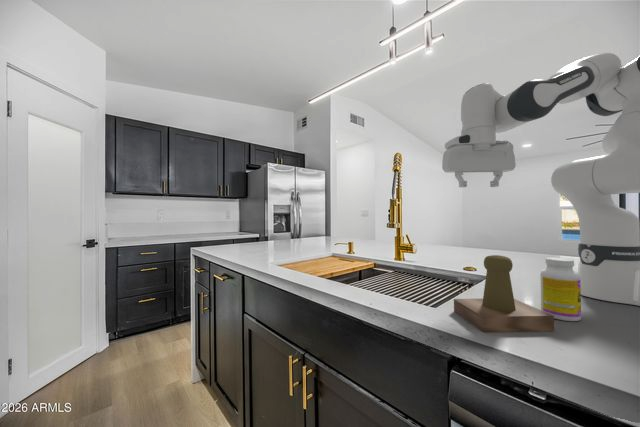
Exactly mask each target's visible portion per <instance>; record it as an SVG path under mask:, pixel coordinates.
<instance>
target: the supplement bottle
mask: <svg viewBox="0 0 640 427" xmlns="http://www.w3.org/2000/svg"><path fill="white" fill-rule="evenodd" d="M545 264H546V268H543V269H542V270H541V271H540V310H542V311H544V312H546V313H549V314H551V315H553V316H554V320H559V321H566V322H578V321H581V320H582V295H581V285H580V275H579V274H578V273H577V271H575V270H574V266H575V261H574V259H570V258H564V257H546V258H545Z"/></svg>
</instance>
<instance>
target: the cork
mask: <svg viewBox="0 0 640 427" xmlns="http://www.w3.org/2000/svg"><path fill="white" fill-rule="evenodd" d="M513 266H514V265H513V261H512V259H511V258H510V257H508V256H505V255H497V254H495V255H494V254H493V255H492V254H491V255H488V256H485V257H484V259H483V267H484V268H485V270H486V275H485V283H484V288H483V297H482V299H483V303H482V305H483V306H484V307H486V308H489V309H492V310H497V311H504V312H511V311H515V310H516V308H515V302H514V299H515V297H514V292H513V286H512V279H511V274H510V272H511V271H512V269H513Z"/></svg>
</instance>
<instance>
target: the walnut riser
mask: <svg viewBox="0 0 640 427" xmlns="http://www.w3.org/2000/svg"><path fill="white" fill-rule="evenodd" d="M514 302H515V308H516V310H515V311H511V312H504V311H497V310H492V309H489V308H486V307H484V306H483V305H482V303H483V298H453V312H454V313H455V314H457V315H458V316H459V317H461V318H463V319H464V320H466V321H467V322H468V323H469V324H471V325H472V326H474V327H475V328H476V329H478V330H480V331H481V333H482V332H483V333H509V332H510V333H512V332H514V333H516V332H517V333H518V332H519V333H521V332H554V331H555V319H554V316H553V315H551V314H549V313H546V312H544V311H542V310H541V309H539V308H536V307H534V306H532V305H529V304H527V303H525V302H522V301H521V300H517V299H515V298H514Z"/></svg>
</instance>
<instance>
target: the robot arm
mask: <svg viewBox="0 0 640 427" xmlns="http://www.w3.org/2000/svg"><path fill="white" fill-rule="evenodd" d="M583 98H585V103H586V105H587V108H588V109H589V111H590V112H592V113H593V114H595V115H598V116H601V117H609V116H612V115H615V114H619V113H620V112H621V114H620V115H619V116H618V117H617V119H616V120H615V121H614V123H613V124H612V126H611V127H610V128H609V130H608V131H607V132H606V134H605V136H604V137H603V138H602V141H601V144H602V149H603V150H604V152H605V153H606V154H603V155H599V156H593V157H587V158H581V159H575V160H573V161H570V162H566V163H565V164H562V165H559V166H557V167H556V168H555V169H554V171H553V172H552V174H551V177H550V181H551V186H552V187H553V190H554V191H556V193H557V194H560V195H562V196H563V197H564V198H565V199H567V201H569V202H570V203H571V205H572V207H573V208H574V210H575V212H576V214H577V218H578V223H579V224H578V225H579V238H580V240H579V241H580V242H579V243H578V247H577V251H578V256H579V261H578V266H577V271H576V272H577V273H578V274H579V275H580V285H581V296H585V297H588V298H592V299H595V300H601V301H606V302H610V303H611V302H612V303H619V304H627V305H634V306H639V307H640V219H639V218H638V216H637V215H636V214H635V213H634V212H632V211H630V210H628V209H625V208H623V207H619V206H618V205H617V204H615V202H614V201H613V199H612V198H613V197H612V195H621V194H623V195H625V194H635V193H637V194H638V193H640V55H639V56H638V57H637V58H635V59H633V60H632V61H630V62H628V63H627V64H625V65H622V62H621V59H620V57H619V56H618V55H616V54H615V53H611V52H602V53H597V54H592V55H589V56H587V57H583V58H582V59H578V60H576V61H574V62H571V63H570V64H567V65H566V66H563V67H562V68H561V69H559V70H558V71H556V72H555V73H554V74H552V75H551V76H550V77H549V79H544V78H543V79H532V80H531V79H530V80H528V81H526V82H524V83H523V84H521V85H520V86H518V87H517V88H516V89H515V90H513V91H511V92H510V93H508V94H506V95H505V94H502V93H500V92H498V91H497V90H496V89H494V86H493V85H492V84H491V82H490V83H488V82H485V83H484V82H483V83H481V84H476V85H475V86H473V87H470V88H469V89H468V90H467V91H466V92H465V93H464V94H463V96H462V98H461V104H460V121H461V125H462V128H461V131H460V134H461V135H458V136H455V137H453V138H452V139H449V140H448V141H446V142H445V144H444V149H445V151H444V152H443V155H442V160H441V161H442V163H441V164H442V166H441V167H442V170H443V172H444V173H448V174H449V173H453V174H454V177H455V178H456V181H457V182H458V187H459V188H467V187H468V181H467V180H464V177H463V175H464V173H492V174H493V176H494V178H493V180H491V181H489V184H490V185H489V187H490V188H497V187H499V186H500V180H501V179H502V176H503V174H504V173H508V172H512V171H514V170H515V168H516V164H517V163H516V157H515V153H514V152H515V151H514V145H513V143H512V142H510V141H509V140H497V138H496V137H497V133H498V134H499V133H505V132H508V131H510V130H513V129H515V128H517V127H520V126H522V125H525V124H527V123H529V122H533V121H536V120H538V119H541V118H544V117H546V116H547V115H548V114H549V113H550V112H551V111H552V110H553V109H554V108H555V107H556V105H558V104H560V105H564V104H565V105H566V104H569V103H572V102H575V101H578V100H580V99H583Z"/></svg>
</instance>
